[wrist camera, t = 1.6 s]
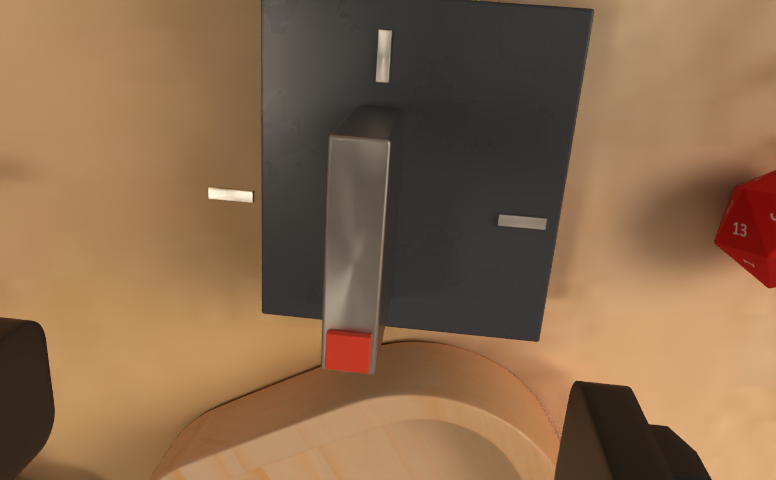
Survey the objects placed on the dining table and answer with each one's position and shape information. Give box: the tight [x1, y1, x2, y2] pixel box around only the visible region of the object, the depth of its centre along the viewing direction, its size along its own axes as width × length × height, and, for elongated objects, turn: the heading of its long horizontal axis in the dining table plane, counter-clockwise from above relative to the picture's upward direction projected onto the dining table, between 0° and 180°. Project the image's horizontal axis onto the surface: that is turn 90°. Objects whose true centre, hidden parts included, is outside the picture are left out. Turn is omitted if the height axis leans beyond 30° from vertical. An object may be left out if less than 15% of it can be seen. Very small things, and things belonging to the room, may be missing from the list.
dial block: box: [208, 0, 594, 342], centre depth 21 cm, size 11×11×3 cm
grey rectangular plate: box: [321, 106, 405, 375], centre depth 17 cm, size 6×1×5 cm, turn 176°
